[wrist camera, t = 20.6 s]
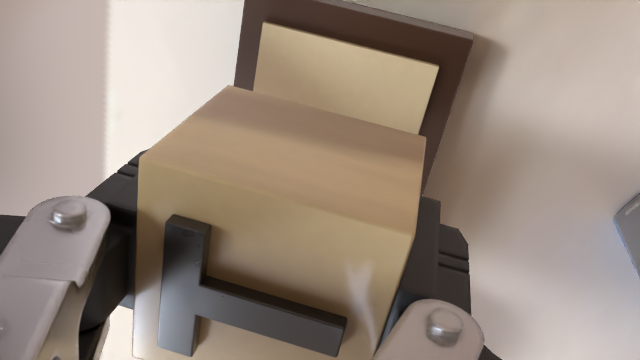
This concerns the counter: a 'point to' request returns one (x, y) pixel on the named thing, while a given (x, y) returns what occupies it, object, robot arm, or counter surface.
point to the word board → (354, 63)
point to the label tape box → (630, 230)
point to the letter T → (272, 232)
